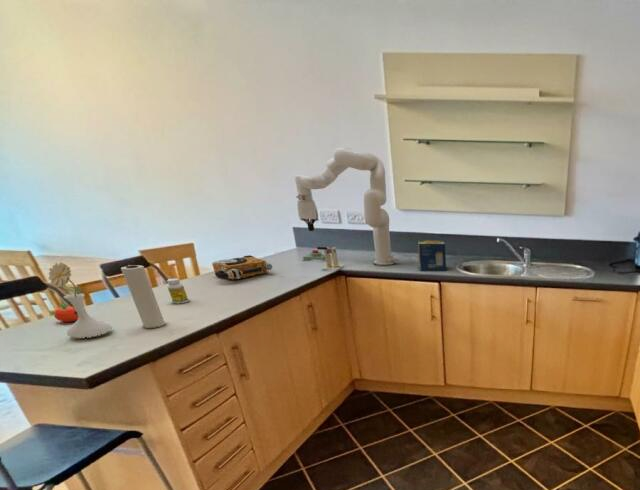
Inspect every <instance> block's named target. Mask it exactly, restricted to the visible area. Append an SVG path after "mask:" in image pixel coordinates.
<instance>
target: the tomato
mask: <svg viewBox="0 0 640 490" xmlns="http://www.w3.org/2000/svg"><path fill="white" fill-rule="evenodd" d="M53 316H54V318H55V320H58V321H60V322H64V323H72V322H76V321H77V320H78V314H77V311H76V309H75V308H74V306H68V305H67V306H66V305H65V304H64V303H62V304H61V307H57V308H56V309H55V310H54V314H53Z"/></svg>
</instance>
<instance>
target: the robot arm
mask: <svg viewBox="0 0 640 490" xmlns="http://www.w3.org/2000/svg"><path fill="white" fill-rule="evenodd" d="M349 168H350V169H355V170H358V171H369V172H370V176H369V187H370V188H368V189H367V190H366V191H365V192H364V194H363V211H364V220H365V222H366V224H367V225H368V226H369V227H371V228H372V236H373V245H374V253H375V254H374V255H375V260H374V261H373V263H374V265H377V266H391V265H394V264H395V263H396V262H399V261H400V258H399V257H397V256H396V257H394V255H393V254H392V246H391V236H390V235H391V233H390V216H389V213H388V212H387V210H386V209H384V208H381V207H382V206H384V205H386V203H387V185H386V184H387V183H386V169H385V165H384V163H383V161H382V160H381V159H380V158H379V157H378V156H377V155H375V154H373V153H369V152H359V151H356V150H355V151H354V150H353V149H351V148H349V147H337V148H335V150H334V151H333V155H332V157H331V158H329V159H328V160H327V161H326V168H325V169H324V170H323V171H321V172H320V173H318V174H295V175H294V181H295V186H296V192H297V195H295V197H296V199H298V200H297V213H298V217H299V220H300V221H303V222H304V223H305V224H306V225H307V229H308V231H309V232H313V231H315V226H314V224H315V222H318V221H319V219H320V218H319V213H318V209H317V205H316V202H315V200H314V198H313V193H312V190H322V189H325V188H327V187H328V186H330V185H331V184H333V183H334V182H335V181H336V180H337V178H338V177H339V176H340V175H341V174H342V173H343V172H345V171H346V170H347V169H349Z"/></svg>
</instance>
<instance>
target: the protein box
mask: <svg viewBox="0 0 640 490" xmlns="http://www.w3.org/2000/svg"><path fill="white" fill-rule="evenodd" d="M417 250H418V251H417V252H418V264H419V270H420V271H421V272H428V271H430V272H432V271H433V272H435V271H447V259H446V258H447V257H446V256H447V255H446V254H447V253H446V243H445V242H444V240H417Z"/></svg>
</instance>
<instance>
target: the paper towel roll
mask: <svg viewBox="0 0 640 490" xmlns="http://www.w3.org/2000/svg"><path fill="white" fill-rule="evenodd" d="M120 271H121V272H122V275H123V277H124V279H125V282H126V285H127V288H128V290H129V293H130V295H131V297H132V300H133V303H134V305H135V307H136V310H137V313H138V315H139V317H140V320H141V322H142V325H143V327H144V328H147V329H153V328H154V329H155V328H160V327H162V326H164V325H165V320H164V317H163V314H162V312H161V309H160V306H159V304H158V301H157V298H156V295H155V293H154V291H153V287H152V285H151V282H150V280H149V277H148V274H147V272H146V269H145V266H144V265H140V264H127V265H125V266H122V267H120Z"/></svg>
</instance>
